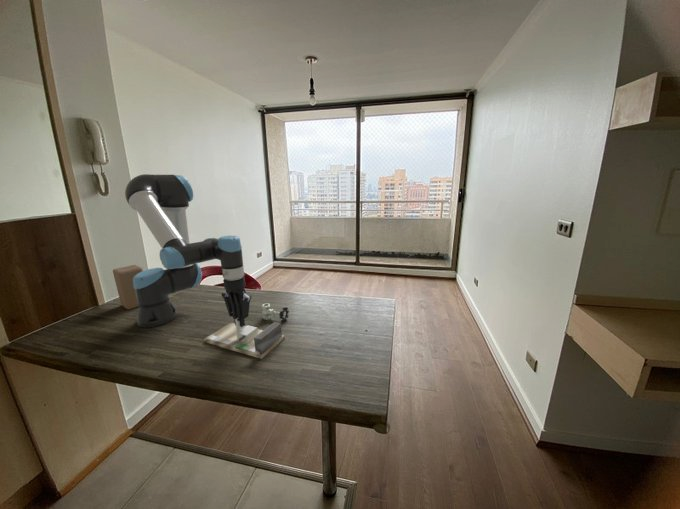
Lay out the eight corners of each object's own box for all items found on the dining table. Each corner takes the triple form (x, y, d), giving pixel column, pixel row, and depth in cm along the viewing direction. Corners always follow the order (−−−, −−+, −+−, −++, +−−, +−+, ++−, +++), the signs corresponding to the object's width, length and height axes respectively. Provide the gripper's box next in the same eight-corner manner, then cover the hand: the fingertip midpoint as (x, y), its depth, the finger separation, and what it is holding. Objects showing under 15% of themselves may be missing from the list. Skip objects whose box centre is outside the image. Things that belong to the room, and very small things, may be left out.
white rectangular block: (232, 344, 99) (231, 336, 98) (248, 332, 107) (247, 325, 106) (242, 347, 97) (241, 339, 96) (258, 335, 105) (257, 327, 104)
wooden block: (143, 298, 144) (135, 264, 139) (150, 303, 138) (142, 267, 133) (120, 305, 136) (111, 269, 131) (127, 310, 130) (118, 272, 125)
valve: (259, 320, 119) (282, 324, 115) (257, 307, 117) (281, 311, 114) (267, 314, 125) (289, 317, 122) (266, 301, 124) (288, 304, 120)
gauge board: (204, 341, 103) (202, 325, 101) (231, 324, 116) (229, 310, 114) (261, 359, 93) (259, 341, 91) (284, 338, 105) (283, 322, 103)
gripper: (213, 278, 97) (221, 334, 103) (240, 282, 92) (247, 341, 98) (228, 272, 104) (235, 325, 110) (254, 276, 99) (260, 331, 105)
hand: (241, 332), depth 104 cm, fingers closed
